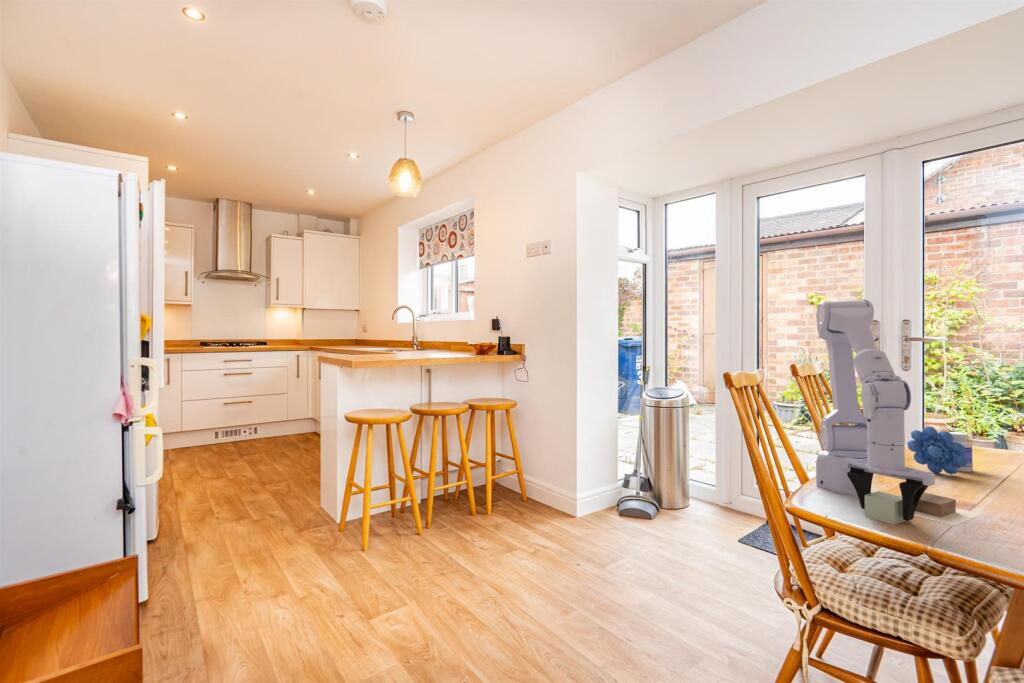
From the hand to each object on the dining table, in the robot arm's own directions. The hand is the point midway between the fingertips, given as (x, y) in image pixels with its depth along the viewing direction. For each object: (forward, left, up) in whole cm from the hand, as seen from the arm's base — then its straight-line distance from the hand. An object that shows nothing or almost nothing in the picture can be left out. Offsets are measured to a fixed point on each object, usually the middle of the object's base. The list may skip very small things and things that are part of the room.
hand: (886, 513), depth 93 cm
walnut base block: (+2, +12, -1) cm, 12 cm away
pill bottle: (-10, +58, -2) cm, 59 cm away
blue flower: (-11, +48, -2) cm, 49 cm away
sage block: (0, 0, -2) cm, 2 cm away
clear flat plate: (+2, +12, -2) cm, 12 cm away
